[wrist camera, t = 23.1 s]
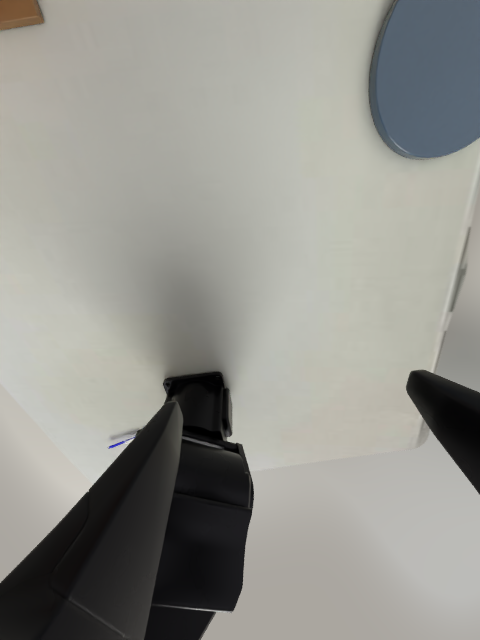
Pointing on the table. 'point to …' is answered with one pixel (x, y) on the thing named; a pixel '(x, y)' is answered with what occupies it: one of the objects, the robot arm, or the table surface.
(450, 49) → the plate
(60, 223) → the table surface
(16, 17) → the coaster
